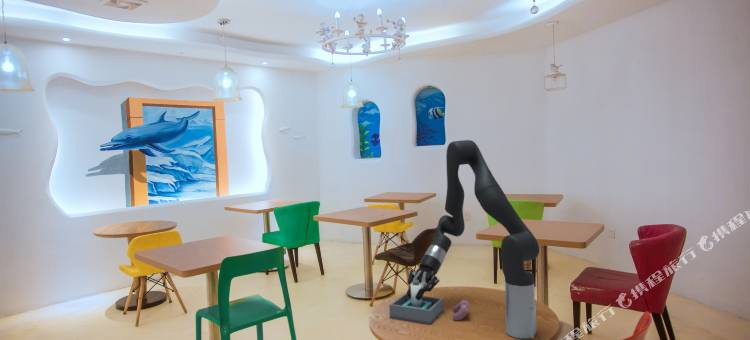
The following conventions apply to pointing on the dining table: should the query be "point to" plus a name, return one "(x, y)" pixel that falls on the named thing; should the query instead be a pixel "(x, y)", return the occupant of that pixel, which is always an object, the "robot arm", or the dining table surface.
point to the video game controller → (460, 310)
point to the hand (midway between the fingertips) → (412, 297)
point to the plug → (414, 290)
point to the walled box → (416, 309)
